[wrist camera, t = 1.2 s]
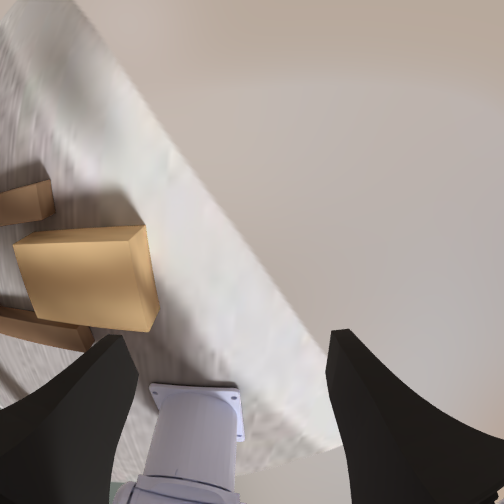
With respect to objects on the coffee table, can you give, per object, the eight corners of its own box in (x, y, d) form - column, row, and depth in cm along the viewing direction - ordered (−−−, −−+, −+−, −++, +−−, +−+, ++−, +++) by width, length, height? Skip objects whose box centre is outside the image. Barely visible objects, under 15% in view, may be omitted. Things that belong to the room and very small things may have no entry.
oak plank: (161, 305, 19) (148, 332, 16) (56, 298, 19) (37, 318, 16) (147, 223, 16) (128, 241, 14) (36, 230, 16) (12, 244, 14)
